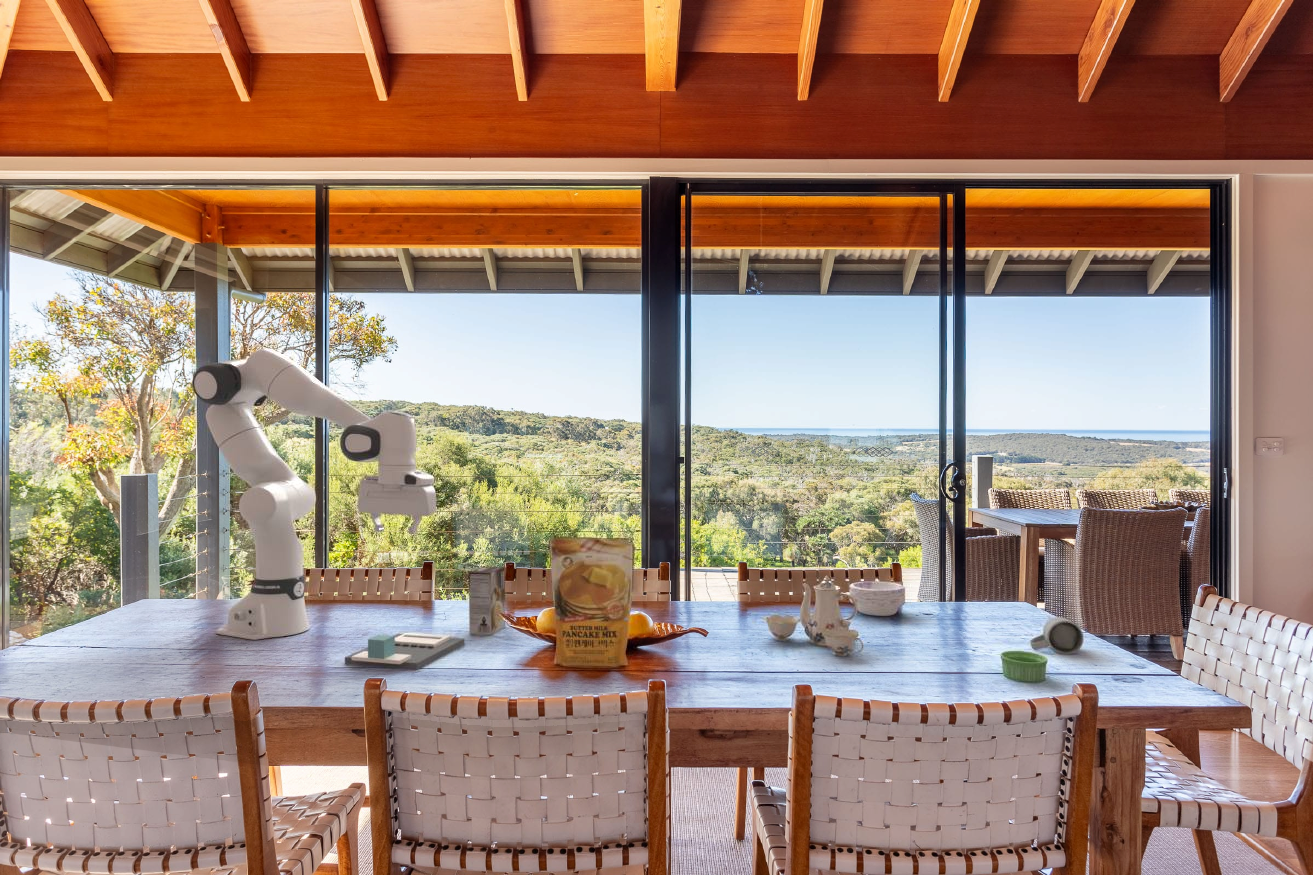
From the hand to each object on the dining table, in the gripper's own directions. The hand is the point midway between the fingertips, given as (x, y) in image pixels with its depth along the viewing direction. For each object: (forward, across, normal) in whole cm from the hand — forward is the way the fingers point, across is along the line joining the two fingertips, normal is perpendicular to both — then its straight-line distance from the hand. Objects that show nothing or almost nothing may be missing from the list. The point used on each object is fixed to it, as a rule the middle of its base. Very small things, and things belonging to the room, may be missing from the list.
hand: (395, 532), depth 194 cm
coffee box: (+27, +17, +16) cm, 35 cm away
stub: (+25, +10, -19) cm, 33 cm away
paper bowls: (+24, +114, +63) cm, 133 cm away
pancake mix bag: (+26, +53, -4) cm, 59 cm away
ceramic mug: (+23, +155, +35) cm, 161 cm away
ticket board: (+27, +10, -8) cm, 29 cm away
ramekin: (+24, +144, +11) cm, 147 cm away
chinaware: (+25, +101, +26) cm, 107 cm away
